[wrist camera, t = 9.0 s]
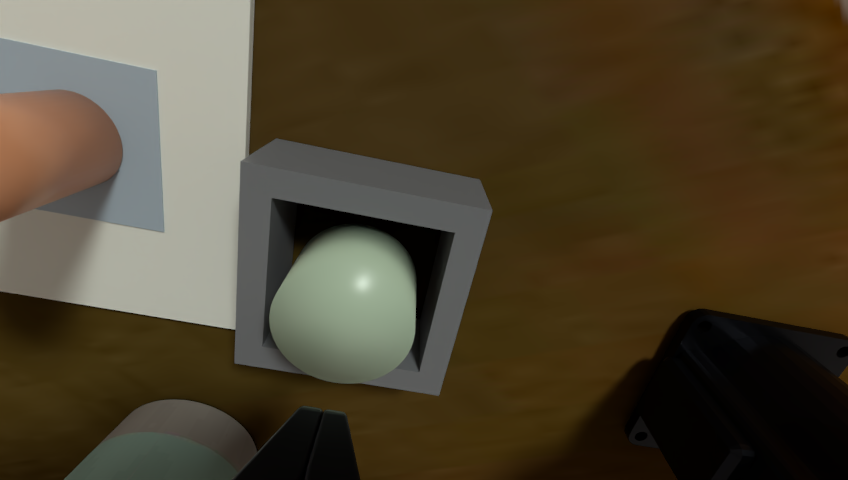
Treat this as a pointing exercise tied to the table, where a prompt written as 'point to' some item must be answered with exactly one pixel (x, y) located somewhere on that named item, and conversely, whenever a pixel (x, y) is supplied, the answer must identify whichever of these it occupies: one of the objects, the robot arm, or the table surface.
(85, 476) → the coffee cup
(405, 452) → the table surface
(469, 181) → the button housing
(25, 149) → the marker
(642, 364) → the table surface
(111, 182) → the paper
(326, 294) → the button
